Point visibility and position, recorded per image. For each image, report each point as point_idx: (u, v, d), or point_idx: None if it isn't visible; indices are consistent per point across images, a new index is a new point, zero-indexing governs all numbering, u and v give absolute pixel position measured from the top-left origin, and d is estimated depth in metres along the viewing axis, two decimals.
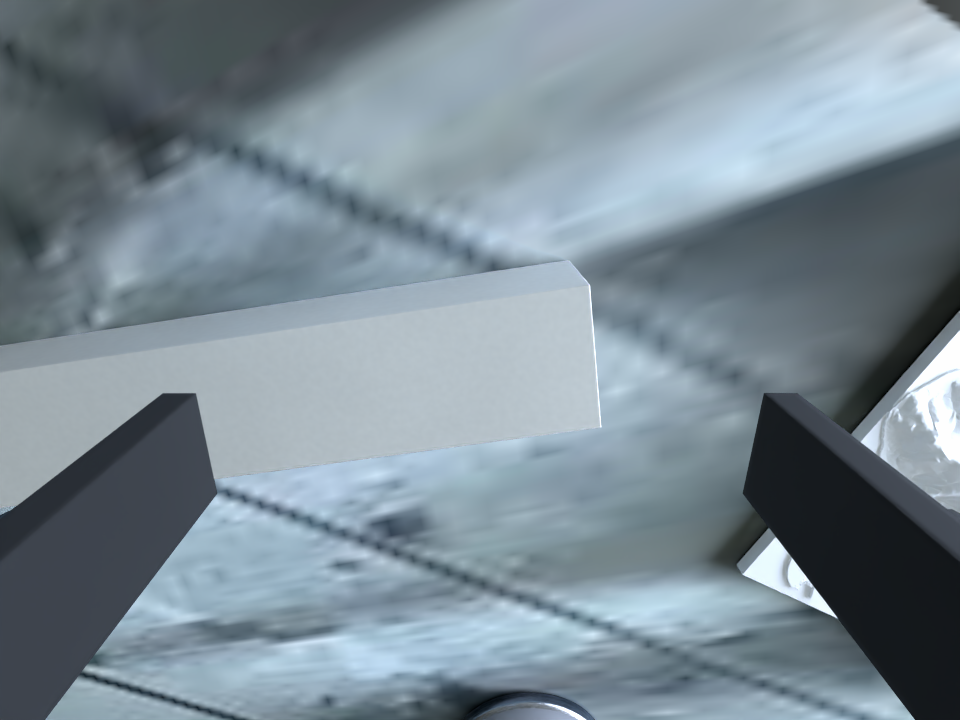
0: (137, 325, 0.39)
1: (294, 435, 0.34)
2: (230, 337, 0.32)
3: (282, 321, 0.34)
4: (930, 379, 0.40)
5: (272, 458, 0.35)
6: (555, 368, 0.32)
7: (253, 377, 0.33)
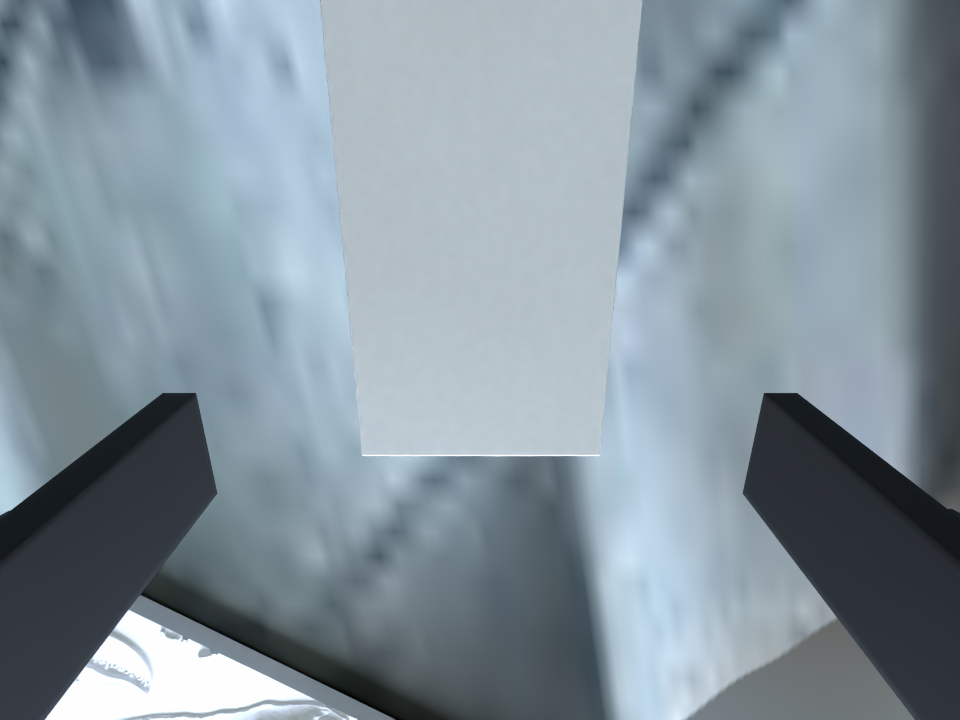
0: None
1: None
2: None
3: None
4: None
5: None
6: (475, 399, 0.20)
7: None
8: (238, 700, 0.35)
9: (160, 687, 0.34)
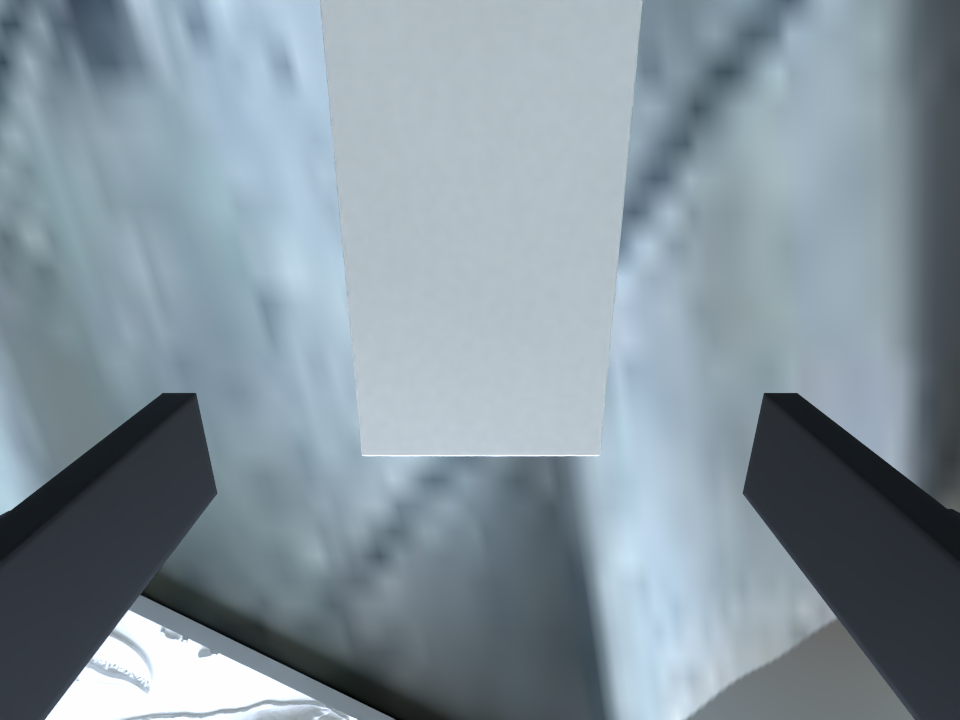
0: None
1: None
2: None
3: None
4: None
5: None
6: (475, 399, 0.20)
7: None
8: (238, 700, 0.35)
9: (160, 687, 0.34)
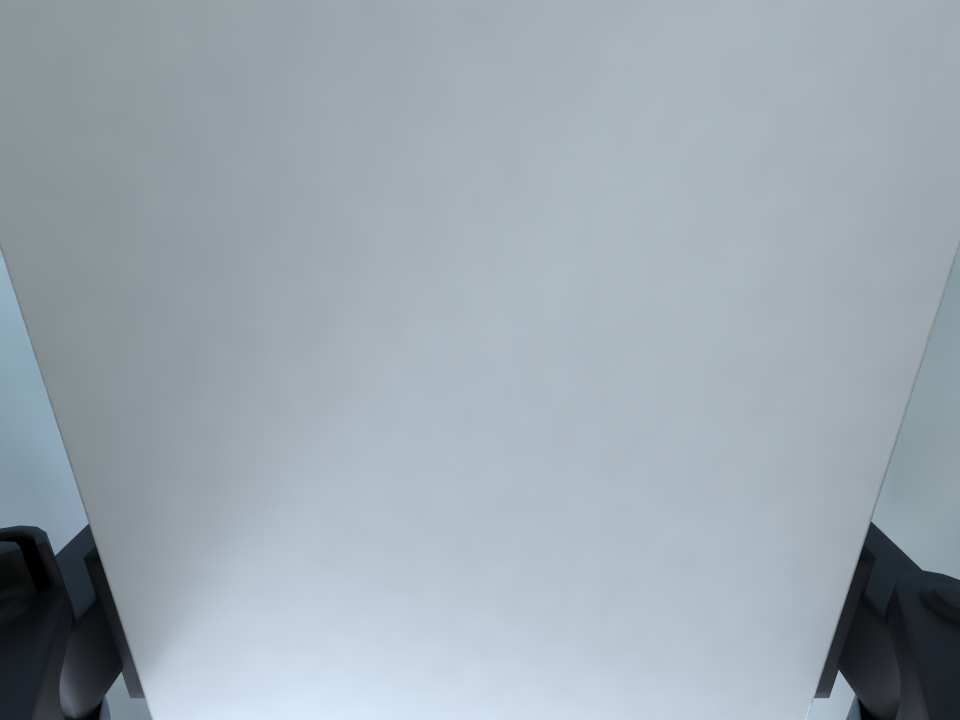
0: None
1: None
2: None
3: None
4: None
5: None
6: None
7: None
8: None
9: None
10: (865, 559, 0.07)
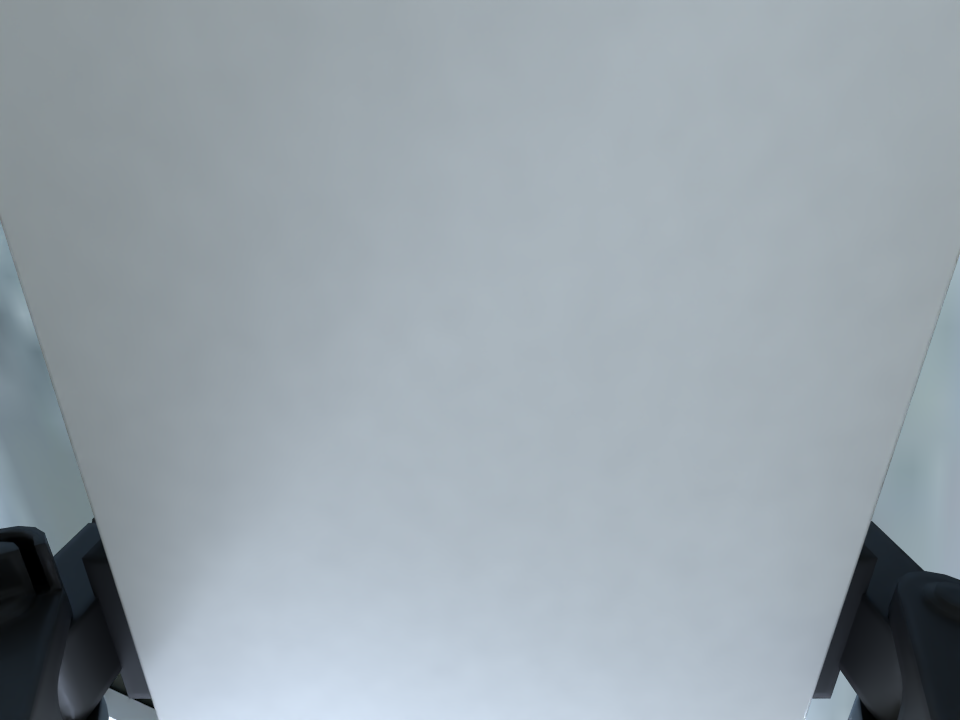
0: None
1: None
2: None
3: None
4: None
5: None
6: None
7: None
8: None
9: None
10: (867, 559, 0.07)
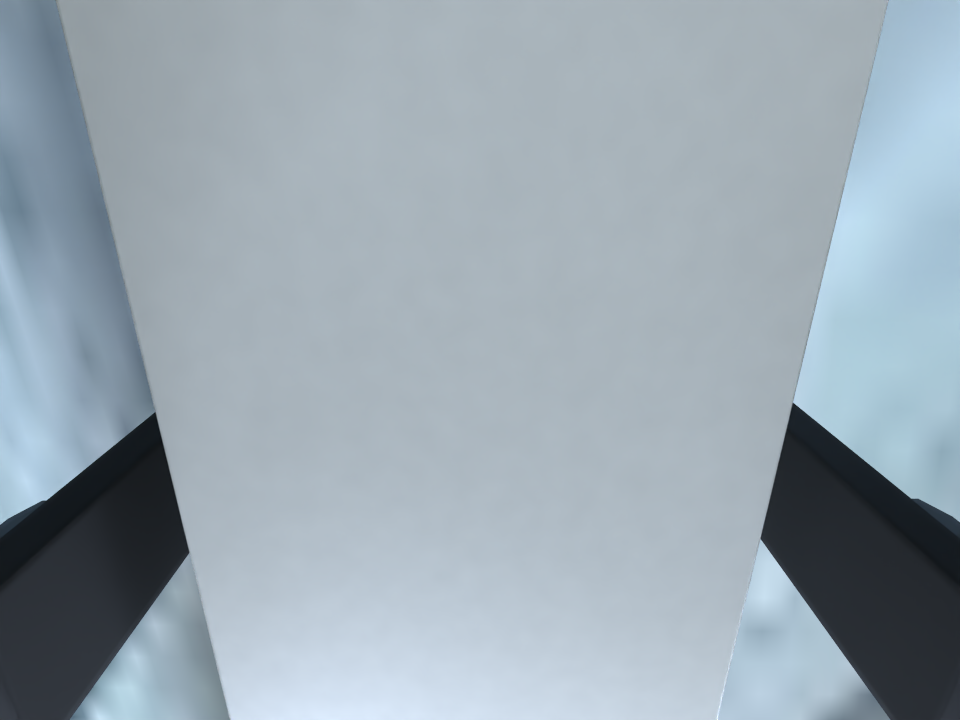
0: None
1: None
2: None
3: None
4: None
5: None
6: (463, 670, 0.10)
7: None
8: None
9: None
10: None
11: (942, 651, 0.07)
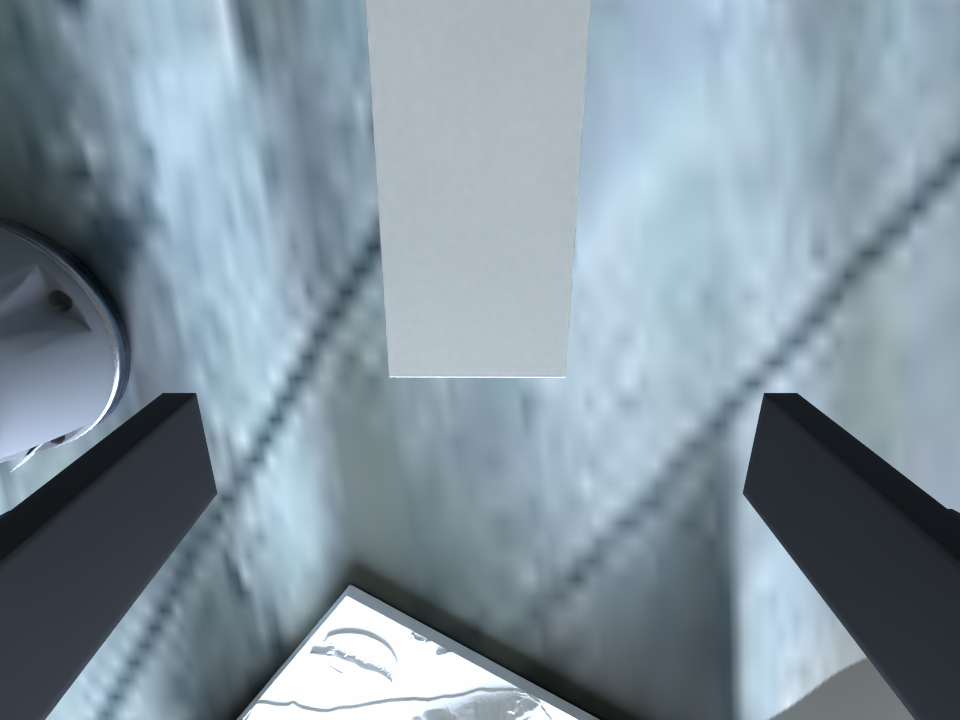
0: None
1: None
2: None
3: None
4: (549, 713, 0.47)
5: None
6: (474, 333, 0.27)
7: None
8: (458, 687, 0.45)
9: (400, 677, 0.45)
10: None
11: None
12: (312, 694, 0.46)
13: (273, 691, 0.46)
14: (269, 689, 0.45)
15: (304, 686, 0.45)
